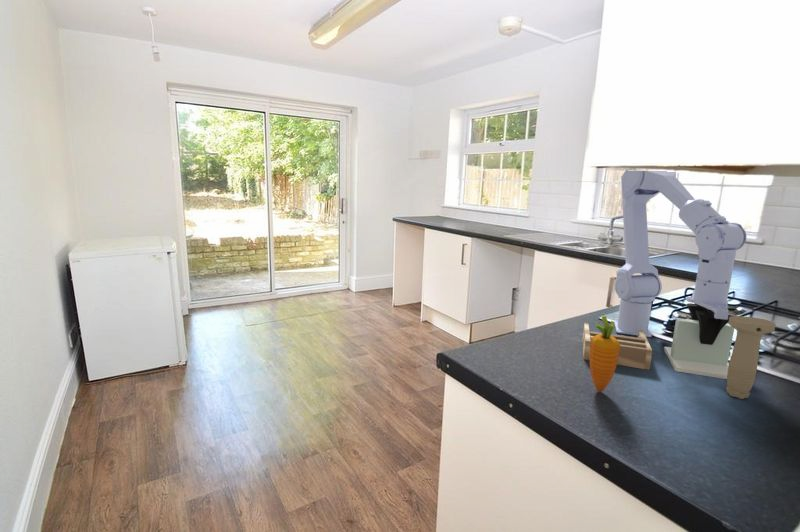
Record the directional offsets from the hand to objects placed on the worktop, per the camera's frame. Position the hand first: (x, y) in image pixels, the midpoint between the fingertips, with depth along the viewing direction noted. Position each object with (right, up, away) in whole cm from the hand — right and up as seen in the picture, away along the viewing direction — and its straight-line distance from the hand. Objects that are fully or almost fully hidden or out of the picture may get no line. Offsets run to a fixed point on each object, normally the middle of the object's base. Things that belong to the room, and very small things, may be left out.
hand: (702, 340), depth 86 cm
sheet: (0, -5, +1) cm, 5 cm away
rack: (-16, -4, +7) cm, 18 cm away
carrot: (-28, -8, -10) cm, 31 cm away
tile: (0, -6, +1) cm, 6 cm away
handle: (-2, -9, -12) cm, 15 cm away
